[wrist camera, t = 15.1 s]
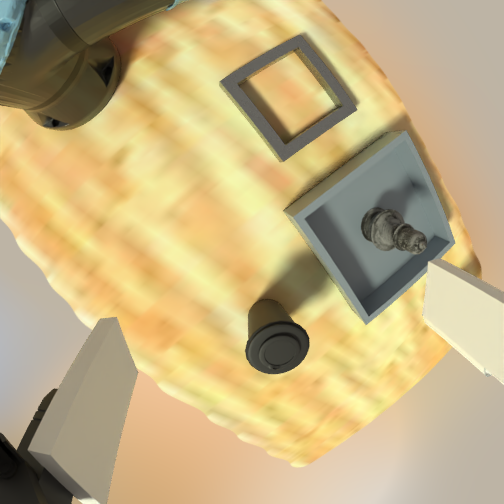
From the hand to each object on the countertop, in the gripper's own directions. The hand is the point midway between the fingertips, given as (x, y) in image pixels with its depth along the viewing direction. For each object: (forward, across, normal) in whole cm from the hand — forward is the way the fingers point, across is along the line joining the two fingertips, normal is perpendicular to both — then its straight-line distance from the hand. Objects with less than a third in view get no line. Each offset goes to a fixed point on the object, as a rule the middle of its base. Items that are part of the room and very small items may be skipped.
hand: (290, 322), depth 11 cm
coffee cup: (+29, -2, +16) cm, 33 cm away
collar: (+29, -9, -14) cm, 33 cm away
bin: (+29, -20, +5) cm, 35 cm away
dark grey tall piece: (+28, -20, +5) cm, 35 cm away
